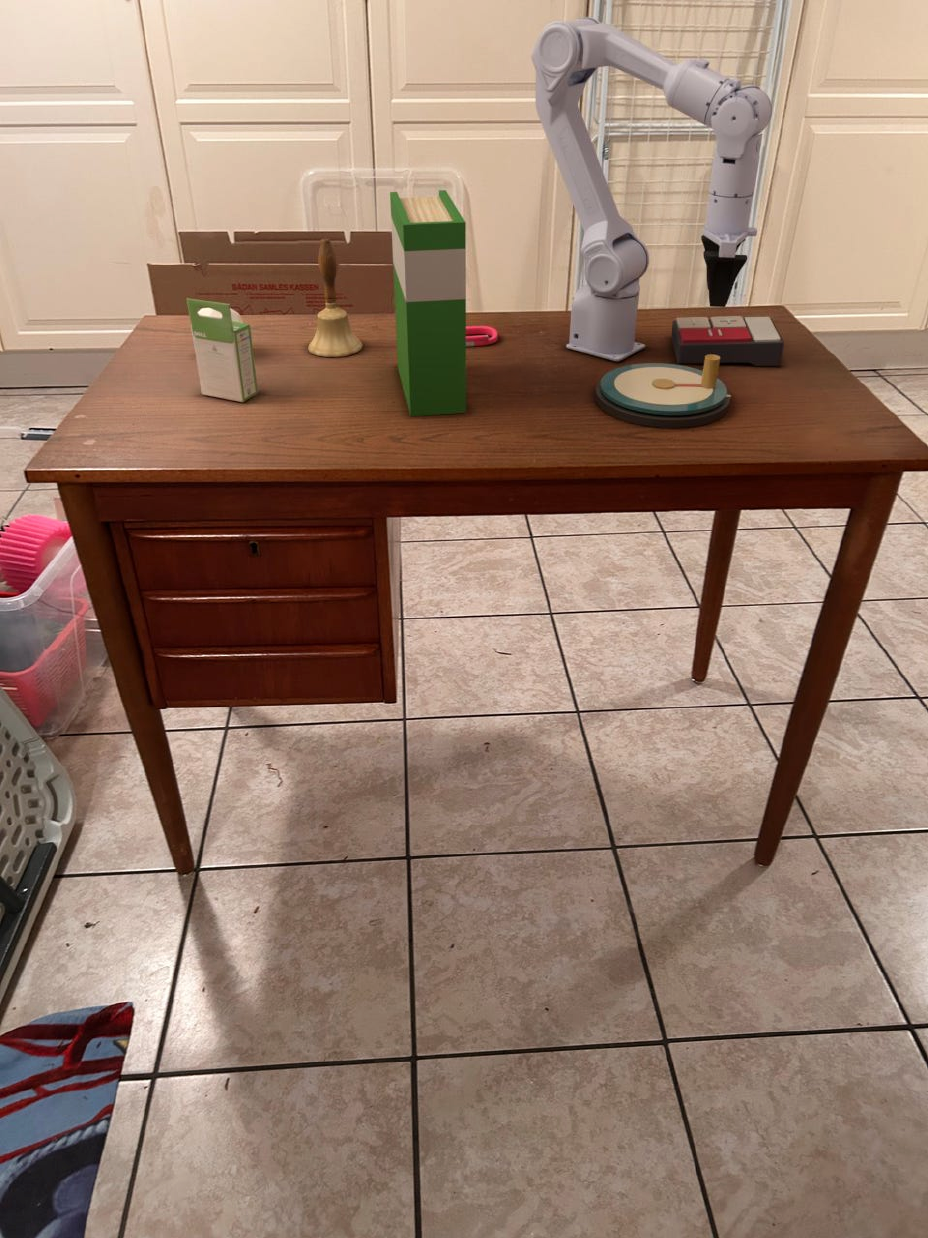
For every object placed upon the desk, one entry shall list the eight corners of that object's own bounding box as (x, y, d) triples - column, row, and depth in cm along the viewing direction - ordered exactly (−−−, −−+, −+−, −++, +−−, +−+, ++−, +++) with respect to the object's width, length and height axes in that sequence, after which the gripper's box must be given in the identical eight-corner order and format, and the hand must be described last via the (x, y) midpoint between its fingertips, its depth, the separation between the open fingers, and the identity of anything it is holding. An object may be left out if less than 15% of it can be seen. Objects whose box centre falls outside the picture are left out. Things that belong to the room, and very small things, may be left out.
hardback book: (397, 367, 140) (390, 191, 126) (447, 364, 141) (445, 189, 127) (410, 416, 126) (403, 224, 112) (466, 412, 127) (465, 222, 113)
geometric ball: (220, 368, 148) (217, 316, 148) (258, 357, 143) (255, 304, 144) (181, 356, 141) (178, 303, 141) (220, 345, 137) (217, 290, 137)
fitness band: (448, 347, 147) (448, 338, 146) (443, 335, 152) (443, 325, 151) (500, 345, 148) (500, 335, 147) (494, 332, 152) (494, 322, 152)
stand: (569, 403, 129) (569, 395, 129) (638, 366, 141) (639, 357, 140) (687, 440, 120) (689, 431, 119) (752, 396, 131) (753, 387, 130)
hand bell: (298, 353, 145) (286, 243, 136) (325, 335, 151) (315, 229, 142) (346, 360, 142) (338, 249, 133) (371, 342, 149) (365, 235, 139)
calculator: (672, 315, 148) (772, 312, 146) (670, 342, 150) (768, 340, 149) (679, 339, 139) (785, 337, 137) (677, 368, 141) (781, 366, 140)
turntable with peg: (605, 414, 123) (608, 379, 120) (596, 365, 137) (599, 333, 134) (736, 416, 122) (743, 381, 120) (715, 367, 136) (720, 335, 133)
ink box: (260, 393, 132) (247, 295, 125) (243, 404, 129) (228, 304, 122) (219, 385, 135) (203, 289, 127) (201, 395, 132) (184, 297, 124)
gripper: (767, 206, 119) (749, 315, 127) (758, 182, 131) (742, 283, 139) (709, 204, 120) (695, 312, 128) (705, 180, 132) (692, 281, 140)
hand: (716, 297), depth 133 cm, fingers open, 7 cm apart
